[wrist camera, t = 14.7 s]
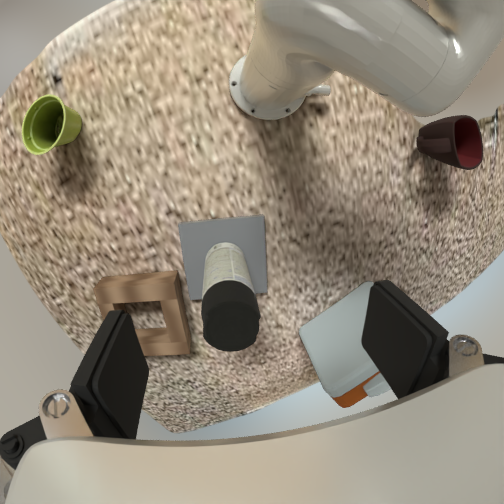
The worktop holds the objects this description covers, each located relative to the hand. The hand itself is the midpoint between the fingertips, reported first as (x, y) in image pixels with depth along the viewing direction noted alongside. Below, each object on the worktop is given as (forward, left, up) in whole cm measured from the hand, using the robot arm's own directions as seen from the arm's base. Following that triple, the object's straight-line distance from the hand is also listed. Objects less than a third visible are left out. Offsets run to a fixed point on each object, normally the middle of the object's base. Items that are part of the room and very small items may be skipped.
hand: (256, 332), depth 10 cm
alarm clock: (-22, +27, -37) cm, 51 cm away
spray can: (+1, +11, -35) cm, 37 cm away
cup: (-40, -10, -36) cm, 55 cm away
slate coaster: (+1, +11, -36) cm, 38 cm away
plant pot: (+27, -16, -36) cm, 48 cm away
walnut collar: (+17, +20, -36) cm, 45 cm away
